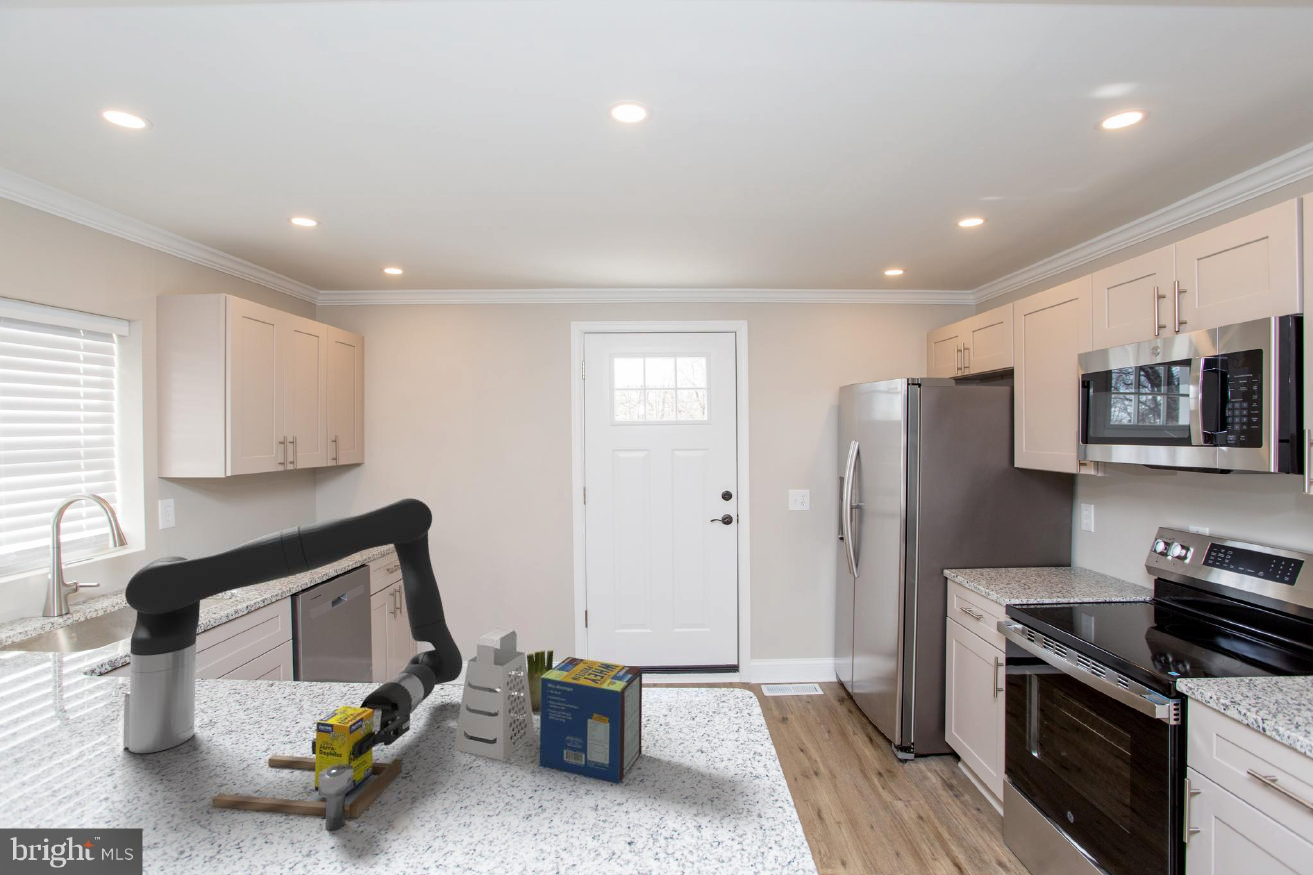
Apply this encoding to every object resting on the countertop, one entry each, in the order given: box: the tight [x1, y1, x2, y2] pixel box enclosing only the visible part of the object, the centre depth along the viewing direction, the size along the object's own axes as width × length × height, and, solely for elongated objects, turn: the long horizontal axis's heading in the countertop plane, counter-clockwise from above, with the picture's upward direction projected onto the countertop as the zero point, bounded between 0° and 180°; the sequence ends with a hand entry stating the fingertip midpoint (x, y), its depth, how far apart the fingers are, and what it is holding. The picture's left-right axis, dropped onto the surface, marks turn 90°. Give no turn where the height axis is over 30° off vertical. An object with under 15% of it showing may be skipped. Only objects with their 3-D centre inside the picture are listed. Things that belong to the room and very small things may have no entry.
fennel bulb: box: [526, 649, 554, 711], centre depth 123 cm, size 6×5×12 cm
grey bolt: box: [318, 764, 353, 832], centre depth 85 cm, size 4×4×8 cm
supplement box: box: [314, 705, 373, 796], centre depth 93 cm, size 6×6×11 cm
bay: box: [211, 754, 403, 819], centre depth 94 cm, size 23×12×2 cm, turn 84°
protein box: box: [538, 656, 643, 784], centre depth 103 cm, size 10×15×16 cm
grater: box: [453, 627, 536, 762], centre depth 109 cm, size 10×10×20 cm
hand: (335, 750), depth 91 cm, fingers closed on supplement box, 6 cm apart
